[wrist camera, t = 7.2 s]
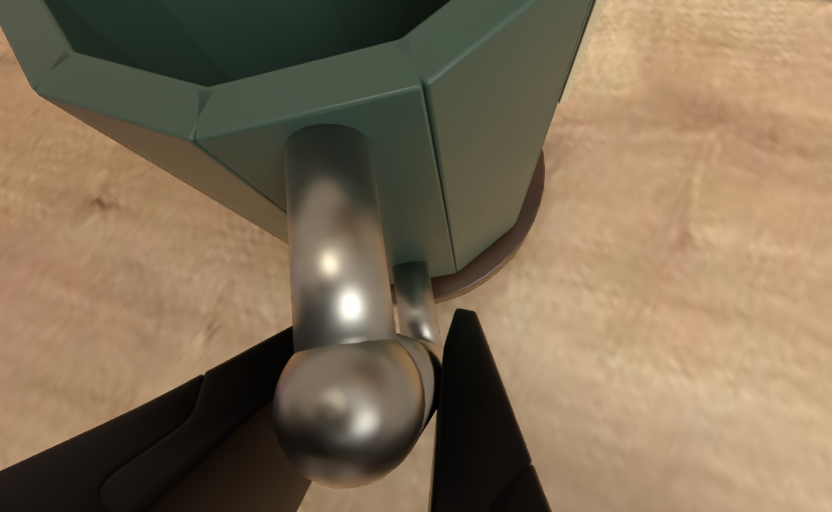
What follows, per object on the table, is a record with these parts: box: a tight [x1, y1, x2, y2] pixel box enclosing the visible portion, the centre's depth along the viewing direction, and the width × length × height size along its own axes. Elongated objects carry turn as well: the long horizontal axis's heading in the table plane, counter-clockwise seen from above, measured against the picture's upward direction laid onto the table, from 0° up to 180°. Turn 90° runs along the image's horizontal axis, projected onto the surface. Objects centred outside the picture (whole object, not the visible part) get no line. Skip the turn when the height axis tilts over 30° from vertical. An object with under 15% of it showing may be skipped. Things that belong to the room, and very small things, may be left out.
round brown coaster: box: [390, 149, 545, 307], centre depth 17 cm, size 12×12×1 cm
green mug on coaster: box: [0, 0, 606, 488], centre depth 10 cm, size 15×11×11 cm
